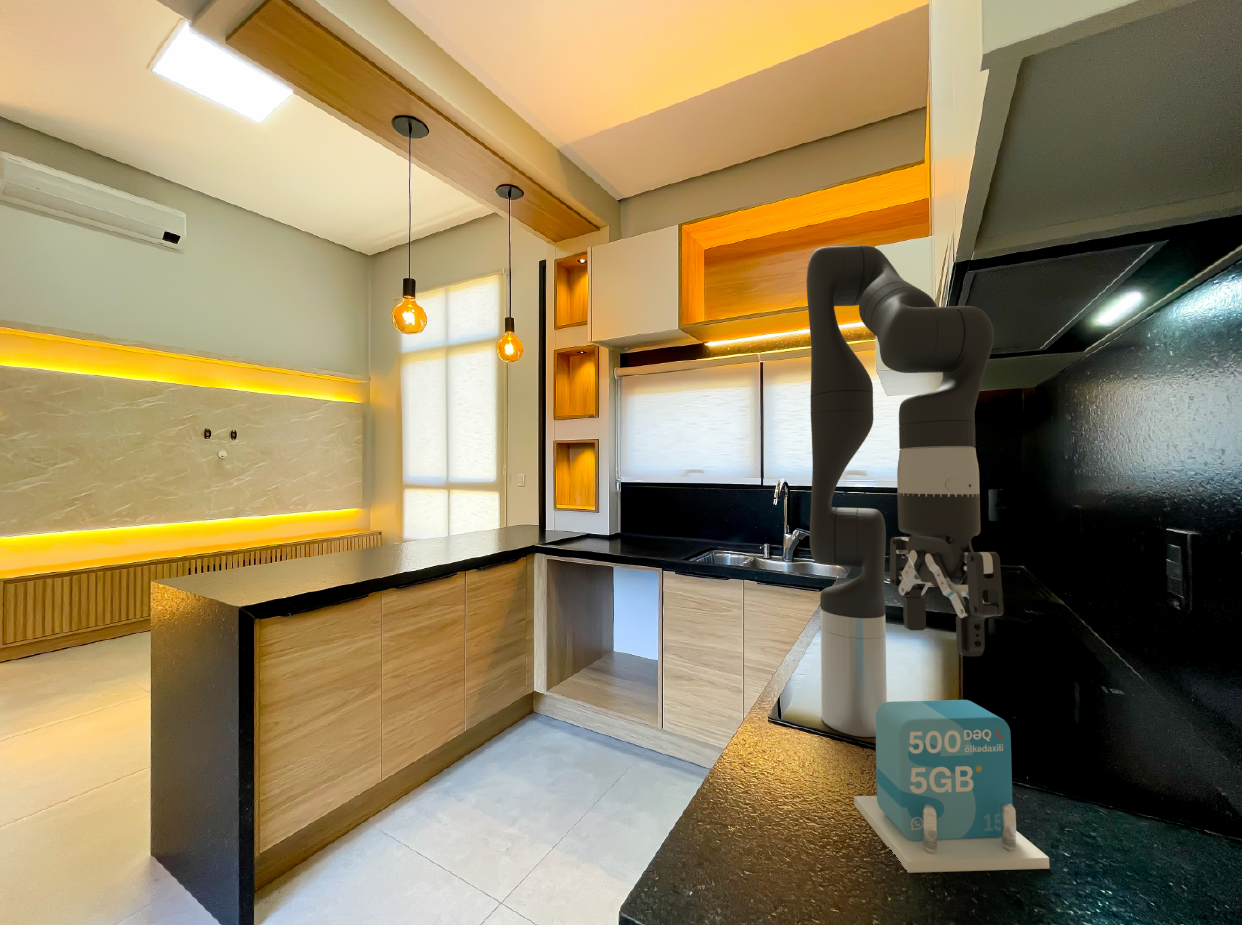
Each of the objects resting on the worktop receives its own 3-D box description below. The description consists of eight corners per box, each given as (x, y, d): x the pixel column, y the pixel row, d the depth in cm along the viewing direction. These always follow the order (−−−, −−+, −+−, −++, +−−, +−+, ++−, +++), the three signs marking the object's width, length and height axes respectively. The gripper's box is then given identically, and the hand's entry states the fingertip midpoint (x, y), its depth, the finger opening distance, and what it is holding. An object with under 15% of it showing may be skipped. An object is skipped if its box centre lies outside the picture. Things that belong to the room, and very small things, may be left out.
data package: (902, 842, 50) (899, 720, 51) (875, 813, 55) (874, 701, 55) (1014, 837, 51) (1011, 717, 51) (980, 808, 55) (977, 698, 56)
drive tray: (854, 805, 57) (854, 796, 58) (971, 802, 58) (971, 793, 58) (908, 872, 47) (907, 861, 48) (1049, 868, 48) (1049, 857, 48)
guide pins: (877, 799, 57) (876, 759, 57) (955, 797, 57) (954, 758, 58) (928, 856, 48) (927, 809, 48) (1019, 853, 49) (1018, 807, 49)
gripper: (1026, 491, 47) (1031, 665, 47) (926, 488, 62) (929, 621, 61) (950, 492, 47) (953, 666, 46) (867, 489, 61) (869, 622, 61)
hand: (940, 641), depth 54 cm, fingers open, 8 cm apart
